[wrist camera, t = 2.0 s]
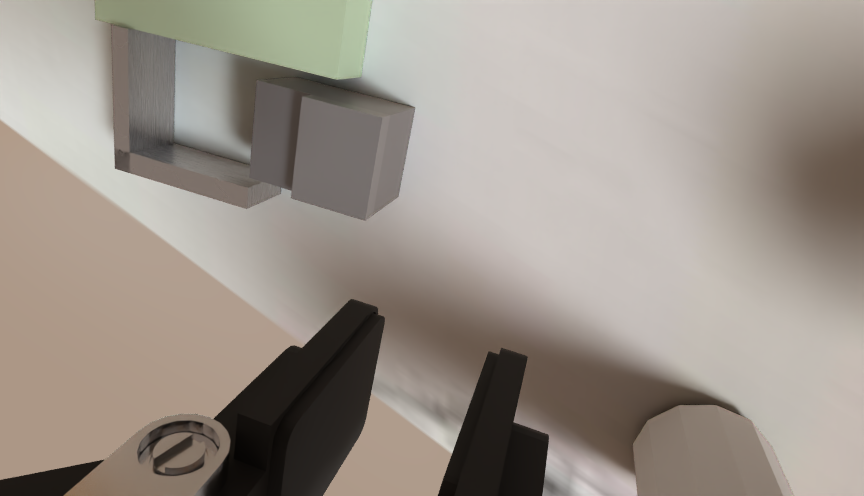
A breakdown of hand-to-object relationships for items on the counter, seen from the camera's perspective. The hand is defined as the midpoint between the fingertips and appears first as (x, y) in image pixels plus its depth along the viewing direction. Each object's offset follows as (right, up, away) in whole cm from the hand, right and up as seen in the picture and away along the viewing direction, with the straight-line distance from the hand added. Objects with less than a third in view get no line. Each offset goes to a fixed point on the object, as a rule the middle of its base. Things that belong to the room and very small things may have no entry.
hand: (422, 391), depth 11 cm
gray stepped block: (-4, +9, +19) cm, 22 cm away
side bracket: (-12, +11, +21) cm, 26 cm away
